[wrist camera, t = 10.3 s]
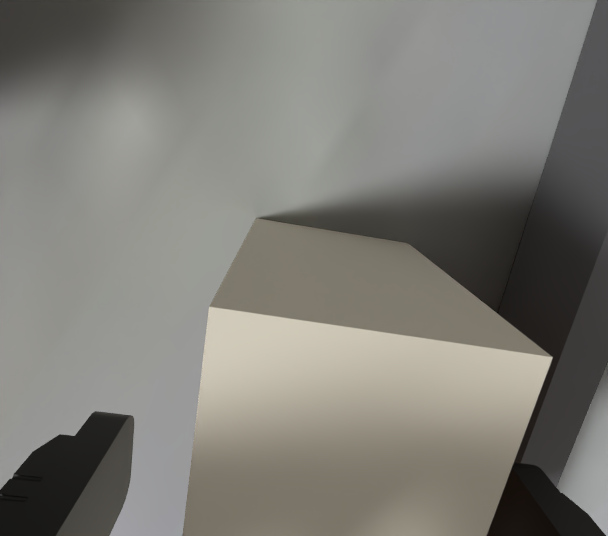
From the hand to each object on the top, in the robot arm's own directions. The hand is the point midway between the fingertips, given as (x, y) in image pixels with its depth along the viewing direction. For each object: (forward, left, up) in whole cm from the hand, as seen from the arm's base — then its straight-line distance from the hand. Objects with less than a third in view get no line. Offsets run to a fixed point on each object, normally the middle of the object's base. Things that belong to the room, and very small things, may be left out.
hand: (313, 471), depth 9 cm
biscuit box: (0, 0, -4) cm, 4 cm away
